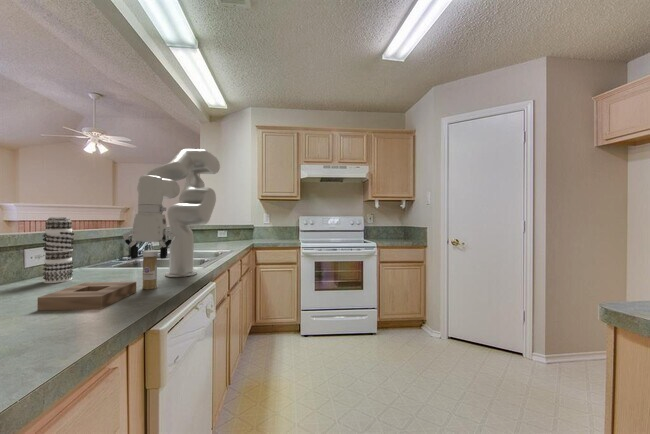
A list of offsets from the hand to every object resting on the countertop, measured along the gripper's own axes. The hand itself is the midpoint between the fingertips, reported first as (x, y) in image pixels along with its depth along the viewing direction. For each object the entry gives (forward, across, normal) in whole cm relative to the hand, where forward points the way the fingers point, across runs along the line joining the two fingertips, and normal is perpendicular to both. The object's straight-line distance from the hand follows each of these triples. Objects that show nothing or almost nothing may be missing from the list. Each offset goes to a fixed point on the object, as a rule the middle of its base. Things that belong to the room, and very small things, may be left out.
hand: (148, 258), depth 101 cm
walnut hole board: (+11, +10, +13) cm, 20 cm away
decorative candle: (+11, +41, -16) cm, 45 cm away
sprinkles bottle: (+11, 0, -1) cm, 11 cm away
